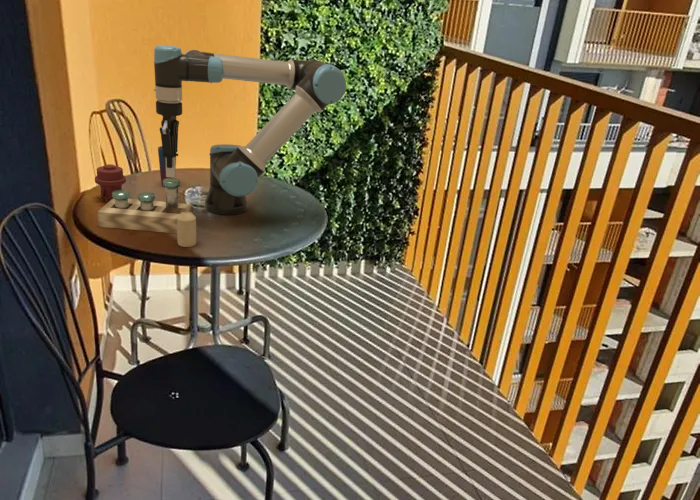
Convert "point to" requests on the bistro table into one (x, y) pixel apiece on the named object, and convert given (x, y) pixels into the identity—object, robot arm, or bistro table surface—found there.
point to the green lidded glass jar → (146, 201)
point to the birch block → (142, 216)
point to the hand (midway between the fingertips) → (171, 176)
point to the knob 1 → (121, 198)
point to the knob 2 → (171, 192)
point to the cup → (162, 165)
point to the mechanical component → (109, 180)
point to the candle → (186, 229)
